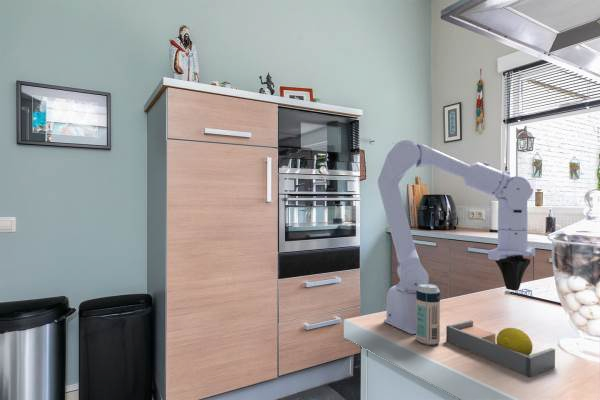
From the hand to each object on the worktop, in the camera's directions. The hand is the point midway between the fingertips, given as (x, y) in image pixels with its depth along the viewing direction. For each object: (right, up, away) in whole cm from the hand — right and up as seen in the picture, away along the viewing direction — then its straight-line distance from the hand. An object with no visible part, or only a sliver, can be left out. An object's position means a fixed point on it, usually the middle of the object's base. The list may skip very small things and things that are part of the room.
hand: (512, 289), depth 78 cm
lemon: (-4, -9, -10) cm, 14 cm away
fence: (-9, -10, -10) cm, 17 cm away
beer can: (-21, -10, -4) cm, 24 cm away
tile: (-10, -11, -4) cm, 15 cm away
